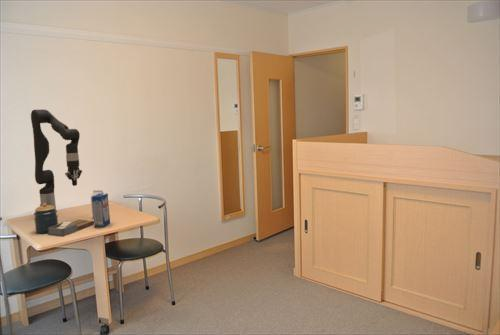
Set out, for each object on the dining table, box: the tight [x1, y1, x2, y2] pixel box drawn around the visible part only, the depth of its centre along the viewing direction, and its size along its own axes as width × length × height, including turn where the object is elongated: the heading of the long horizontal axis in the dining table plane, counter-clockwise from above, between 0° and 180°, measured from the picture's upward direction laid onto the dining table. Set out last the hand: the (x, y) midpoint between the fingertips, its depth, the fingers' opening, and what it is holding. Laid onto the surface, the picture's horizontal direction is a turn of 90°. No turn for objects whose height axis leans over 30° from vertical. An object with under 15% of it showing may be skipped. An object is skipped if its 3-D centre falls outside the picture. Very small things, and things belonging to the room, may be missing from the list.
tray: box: [47, 222, 78, 237], centre depth 242 cm, size 12×11×4 cm
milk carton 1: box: [90, 189, 104, 219], centre depth 275 cm, size 7×7×19 cm
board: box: [71, 219, 94, 232], centre depth 254 cm, size 12×14×2 cm
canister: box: [33, 203, 59, 234], centre depth 247 cm, size 13×13×18 cm
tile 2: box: [60, 221, 73, 227], centre depth 245 cm, size 5×5×3 cm
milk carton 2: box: [91, 192, 111, 229], centre depth 254 cm, size 10×6×20 cm, turn 178°
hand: (74, 185), depth 263 cm, fingers closed
